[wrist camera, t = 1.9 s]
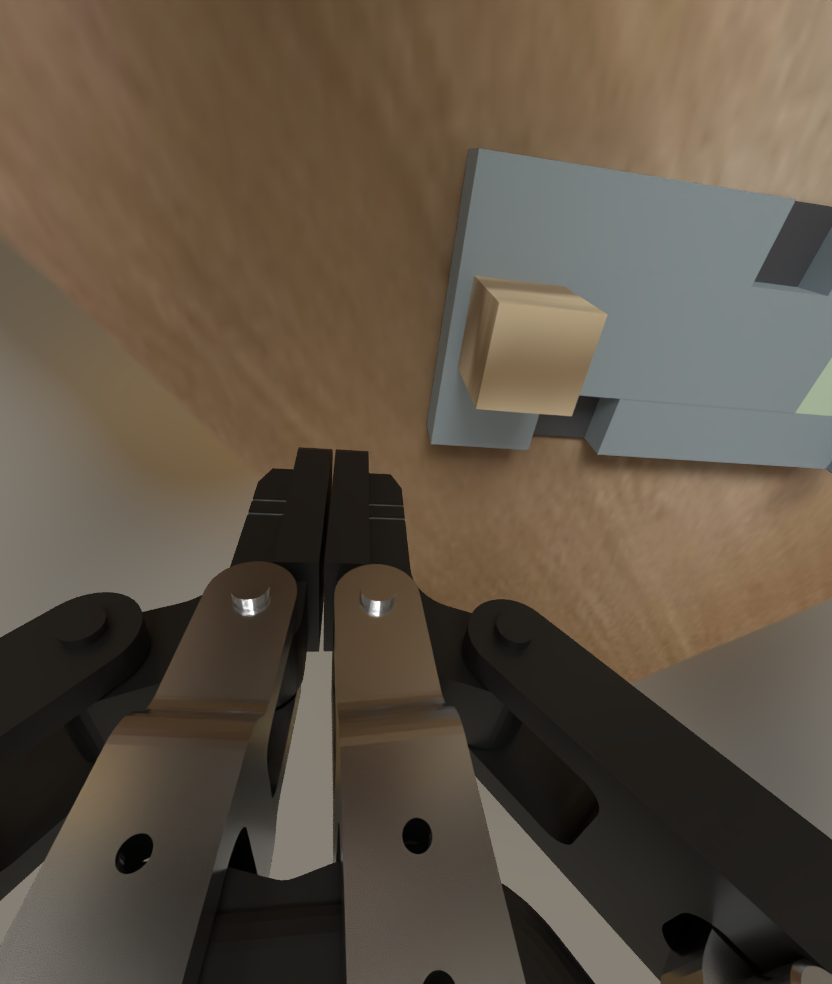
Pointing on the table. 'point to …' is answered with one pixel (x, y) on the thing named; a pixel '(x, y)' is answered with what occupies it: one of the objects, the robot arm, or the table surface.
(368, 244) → the table surface
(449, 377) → the plate
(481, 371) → the beech block
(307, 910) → the robot arm
